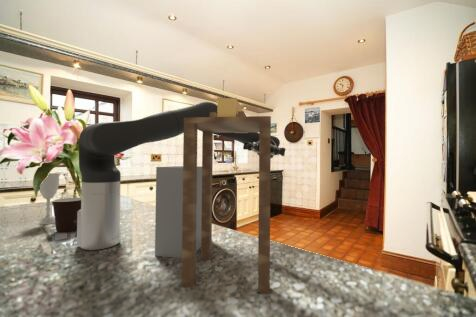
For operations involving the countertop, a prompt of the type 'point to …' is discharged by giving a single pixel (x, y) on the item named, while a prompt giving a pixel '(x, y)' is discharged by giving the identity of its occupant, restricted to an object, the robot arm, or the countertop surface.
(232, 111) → the yellow bar
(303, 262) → the countertop surface
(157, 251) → the block
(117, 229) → the robot arm
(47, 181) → the chalice
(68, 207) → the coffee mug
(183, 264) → the stool
